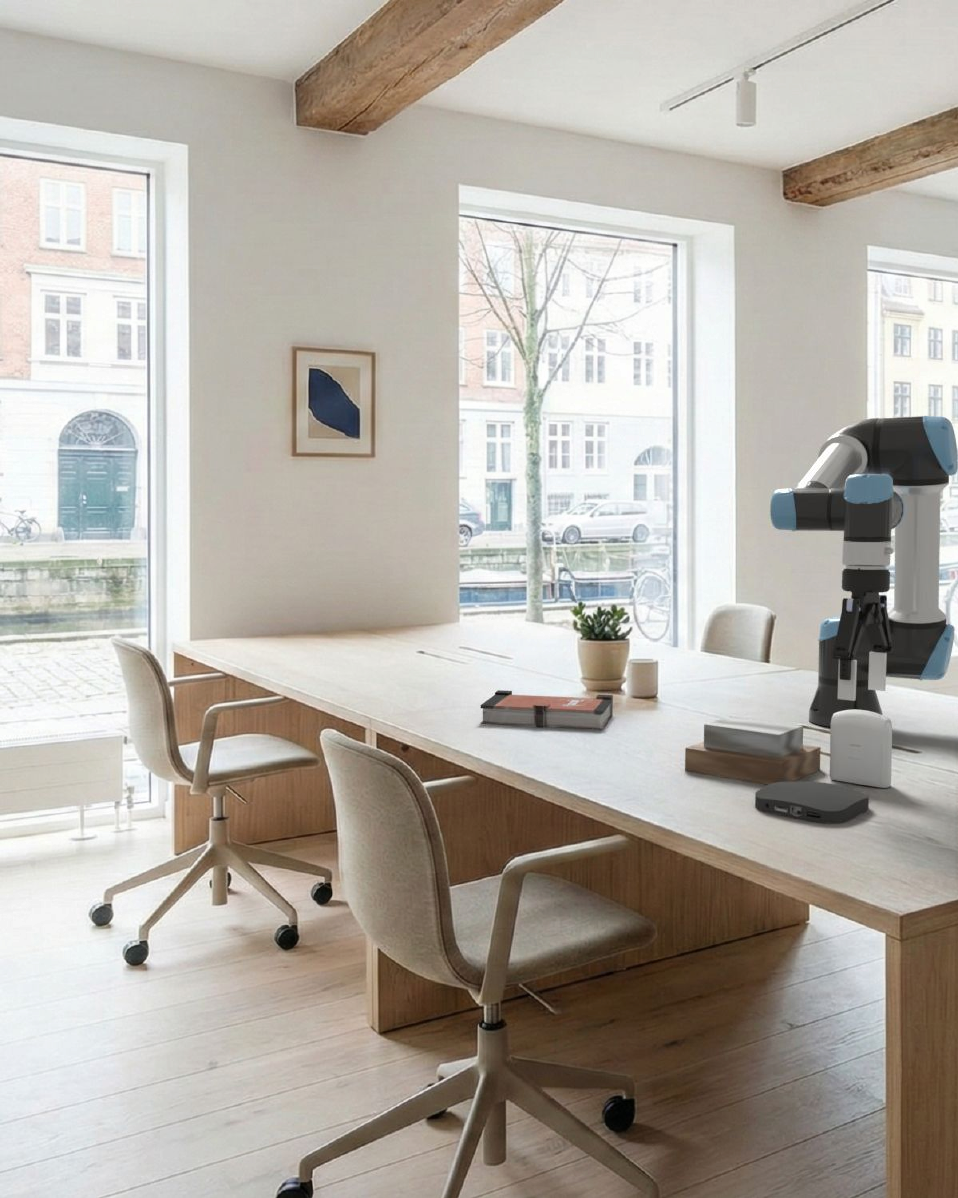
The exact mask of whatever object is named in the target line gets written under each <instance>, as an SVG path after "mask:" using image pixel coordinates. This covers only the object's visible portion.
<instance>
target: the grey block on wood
mask: <svg viewBox="0 0 958 1198" xmlns="http://www.w3.org/2000/svg"><path fill="white" fill-rule="evenodd" d="M821 749H822V747H821V746H815V745H809V744H804V725H799V724H798V725H797V724H793V723H785V722H784V723H783V722H777V721H771V720H770V721H769V720H762V719H756V718H755V719H754V718H746V717H739V716H732V715H730V716H727V717H724V718H723V717H722V718H720V719H717V720H715V721H711V722H708V723H705V724H704V725H703V741H702V742H699V743H696V744H693V745H689V746H688V747H685V751H684V752H685V753H684V771H687V772H692V773H698V774H704V775H711V776H716V777H722V778H727V779H734V780H739V781H746V782H752V783H756V784H763V785H769V784H772V783H776V782H796V781H797V780H799V779H802V778H803V777H806V776H808V775H810V774H813V773H815V772H818V771H819V770H821Z"/></svg>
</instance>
